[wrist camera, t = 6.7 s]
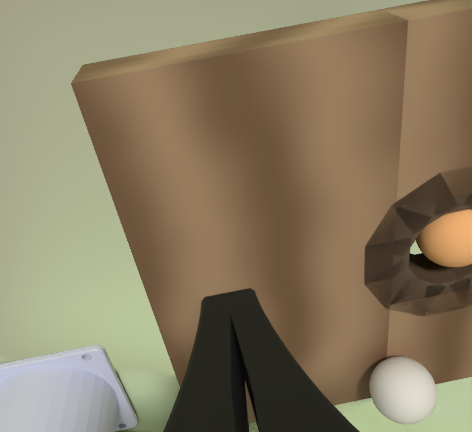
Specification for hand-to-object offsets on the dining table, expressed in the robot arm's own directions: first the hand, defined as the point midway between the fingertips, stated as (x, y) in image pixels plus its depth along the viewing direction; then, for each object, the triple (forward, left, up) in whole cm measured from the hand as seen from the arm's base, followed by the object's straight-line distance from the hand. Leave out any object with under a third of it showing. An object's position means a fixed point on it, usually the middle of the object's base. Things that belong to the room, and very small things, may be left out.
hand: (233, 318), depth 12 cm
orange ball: (+11, -6, -8) cm, 15 cm away
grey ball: (+8, -14, -6) cm, 17 cm away
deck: (+6, -6, -10) cm, 13 cm away
